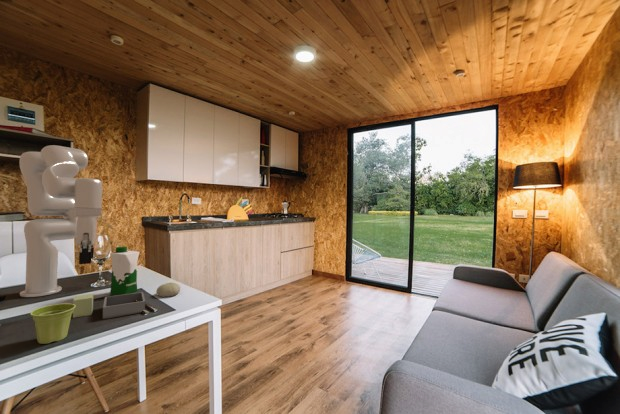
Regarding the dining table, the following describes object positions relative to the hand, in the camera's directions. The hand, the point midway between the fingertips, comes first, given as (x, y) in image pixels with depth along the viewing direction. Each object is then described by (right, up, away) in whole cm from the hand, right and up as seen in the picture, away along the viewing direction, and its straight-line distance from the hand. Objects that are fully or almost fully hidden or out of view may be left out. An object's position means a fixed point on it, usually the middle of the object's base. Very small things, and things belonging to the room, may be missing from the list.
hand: (86, 261), depth 95 cm
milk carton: (-2, -19, +22) cm, 29 cm away
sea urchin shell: (+17, -20, +22) cm, 34 cm away
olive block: (-1, -19, 0) cm, 19 cm away
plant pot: (+5, -19, -18) cm, 27 cm away
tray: (+11, -19, +4) cm, 22 cm away
